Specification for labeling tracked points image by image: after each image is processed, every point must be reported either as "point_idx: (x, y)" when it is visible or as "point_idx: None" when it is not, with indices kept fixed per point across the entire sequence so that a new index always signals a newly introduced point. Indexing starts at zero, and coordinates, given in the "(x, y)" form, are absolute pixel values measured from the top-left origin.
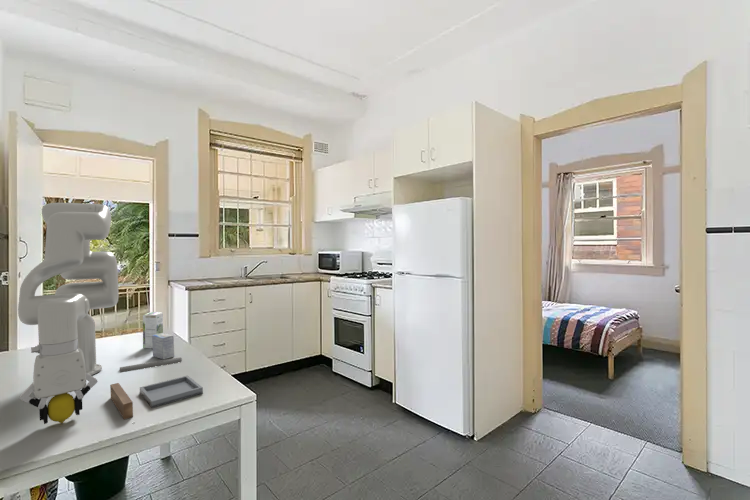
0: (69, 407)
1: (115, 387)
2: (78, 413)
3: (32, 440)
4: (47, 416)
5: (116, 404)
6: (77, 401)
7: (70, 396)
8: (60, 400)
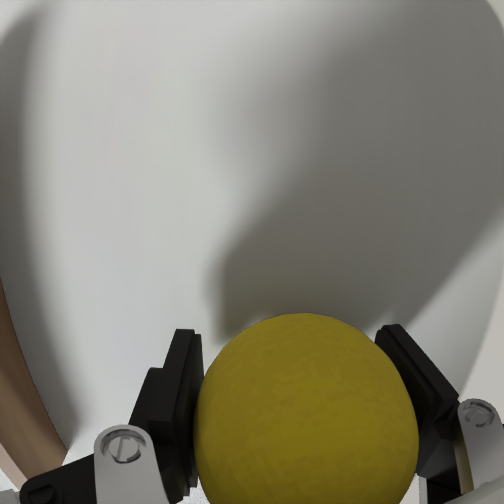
0: (249, 362)
1: (5, 459)
2: (182, 331)
3: (446, 192)
4: (399, 354)
5: (4, 340)
6: (164, 410)
7: (229, 491)
8: (355, 449)
